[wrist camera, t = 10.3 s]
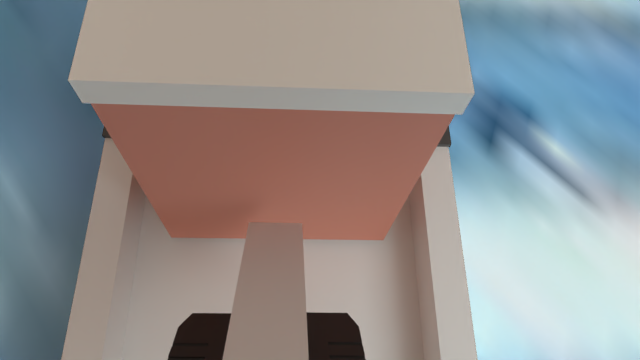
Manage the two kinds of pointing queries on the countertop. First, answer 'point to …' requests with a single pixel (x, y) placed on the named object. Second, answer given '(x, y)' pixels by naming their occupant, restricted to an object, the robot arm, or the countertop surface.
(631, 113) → the countertop surface
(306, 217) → the orange rectangular block
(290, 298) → the robot arm
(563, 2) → the countertop surface
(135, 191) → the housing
